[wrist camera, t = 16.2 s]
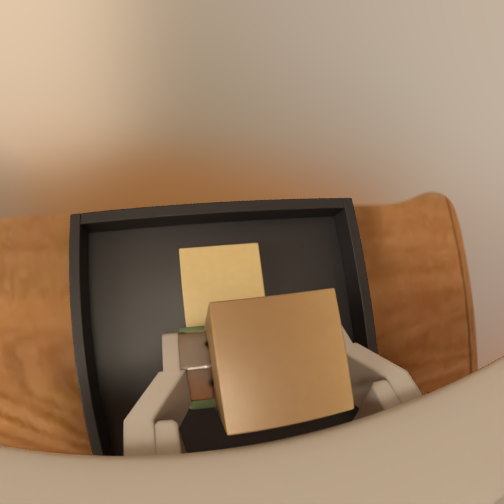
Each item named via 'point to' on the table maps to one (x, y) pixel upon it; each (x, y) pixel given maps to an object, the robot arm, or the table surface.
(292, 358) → the scrub brush
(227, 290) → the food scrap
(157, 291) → the black tray
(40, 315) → the table surface
